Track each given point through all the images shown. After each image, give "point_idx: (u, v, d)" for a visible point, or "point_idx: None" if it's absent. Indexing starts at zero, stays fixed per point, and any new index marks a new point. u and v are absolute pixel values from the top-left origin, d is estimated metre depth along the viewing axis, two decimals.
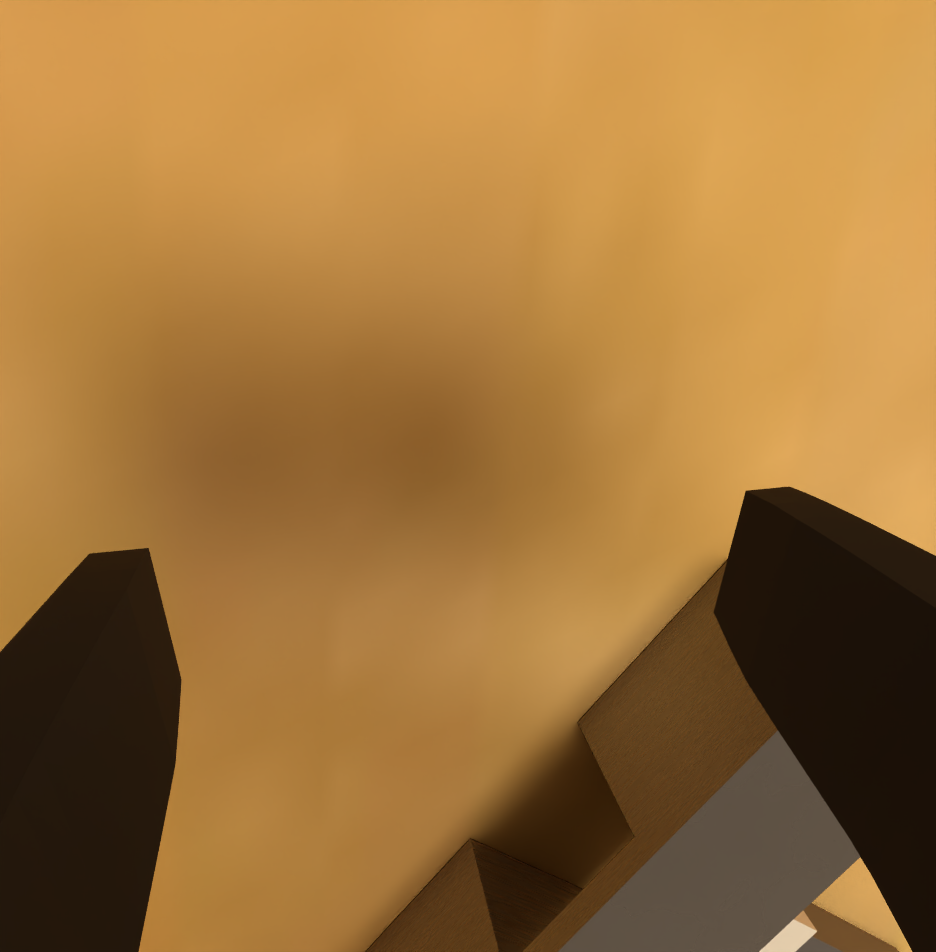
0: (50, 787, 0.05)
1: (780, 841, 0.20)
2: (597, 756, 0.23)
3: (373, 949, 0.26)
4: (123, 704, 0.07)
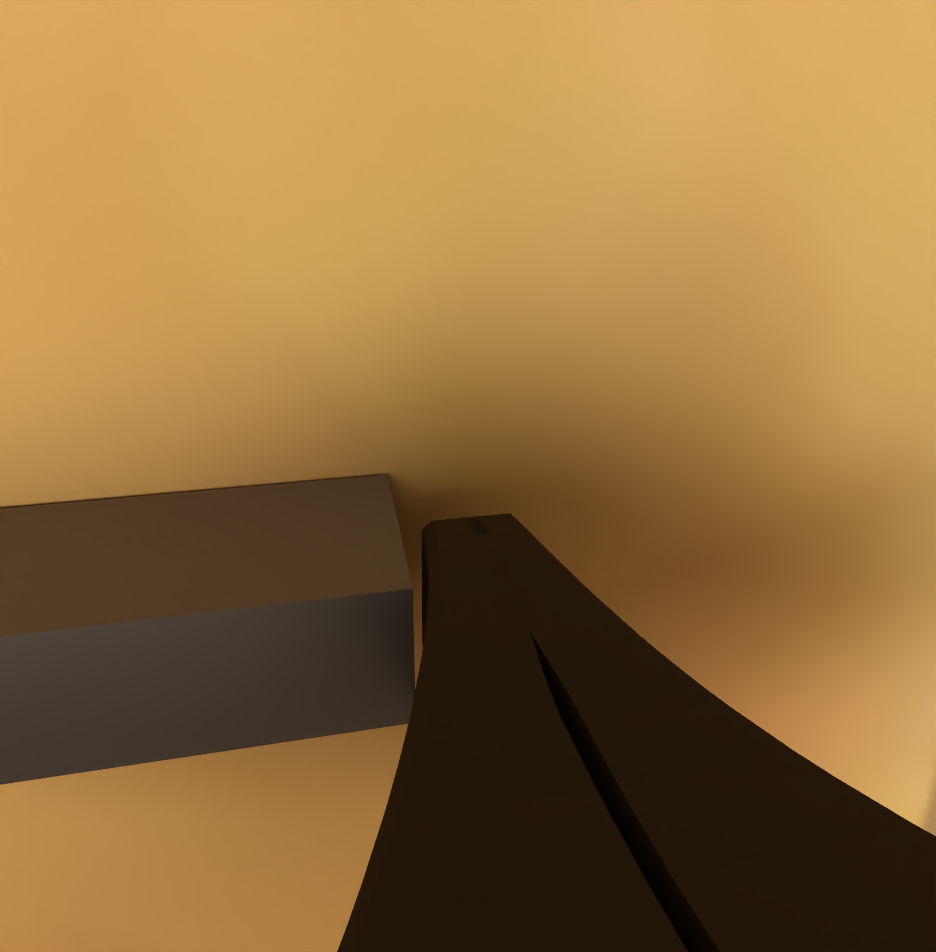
0: None
1: None
2: None
3: None
4: None
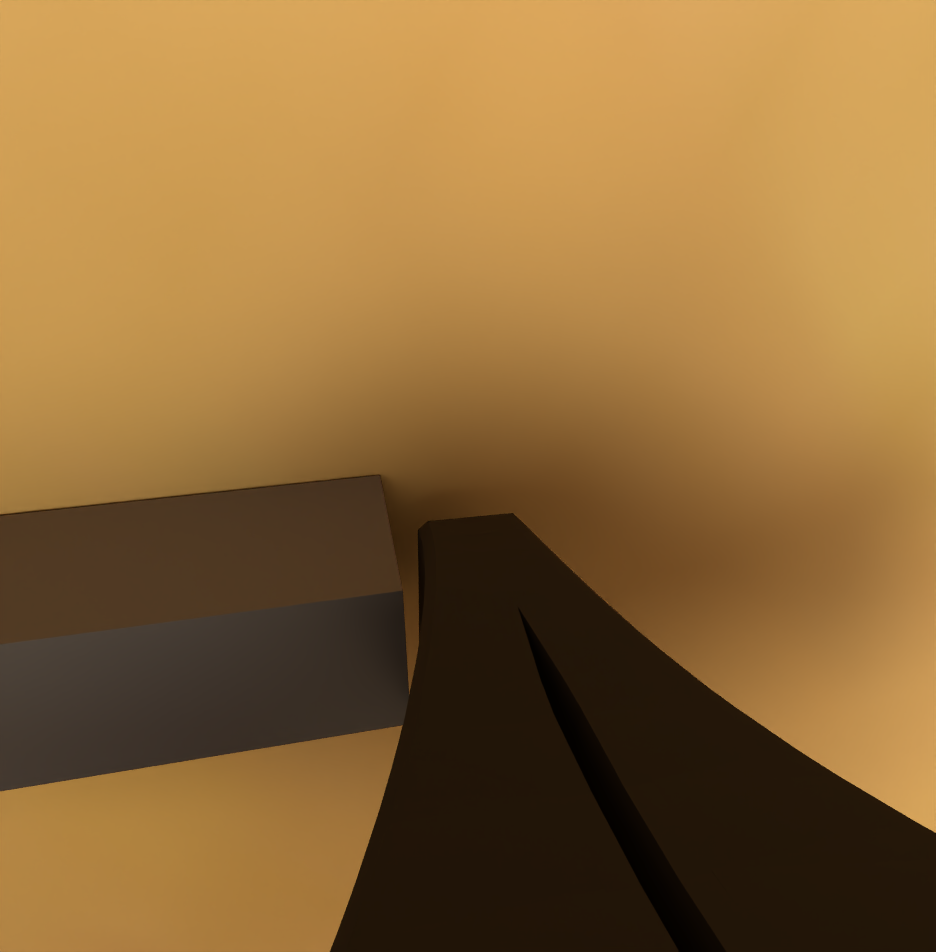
0: None
1: None
2: None
3: None
4: None
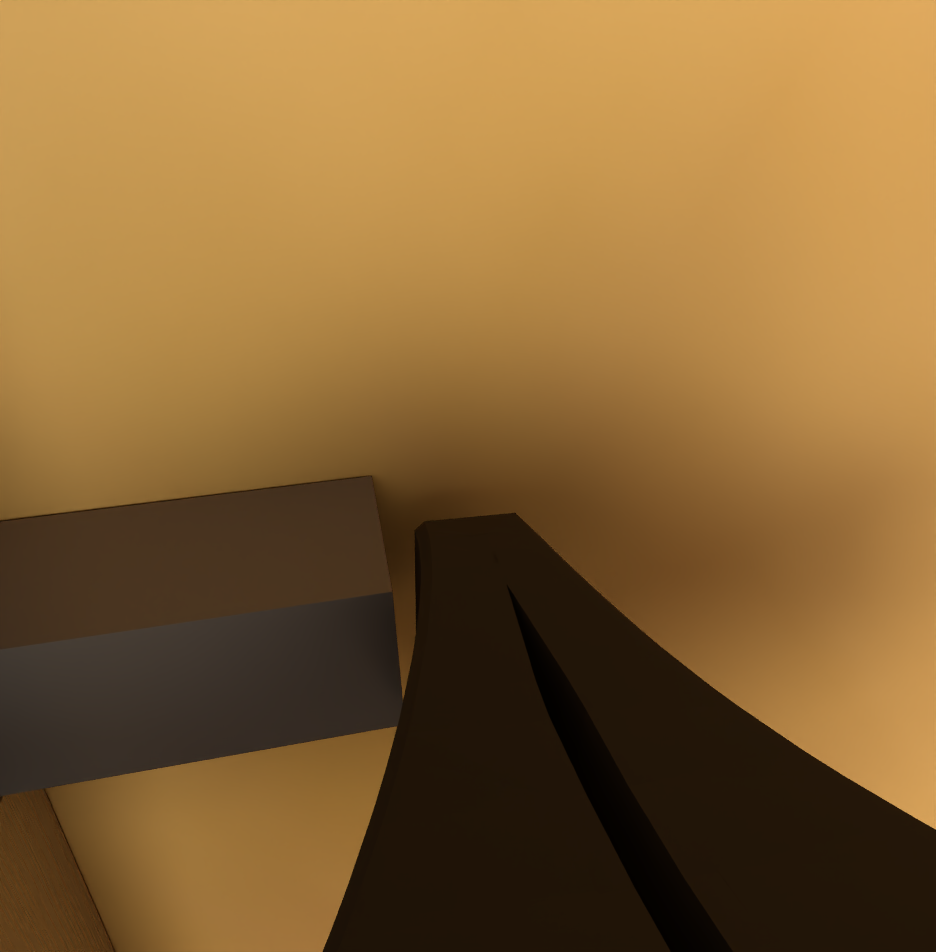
0: None
1: None
2: None
3: None
4: None
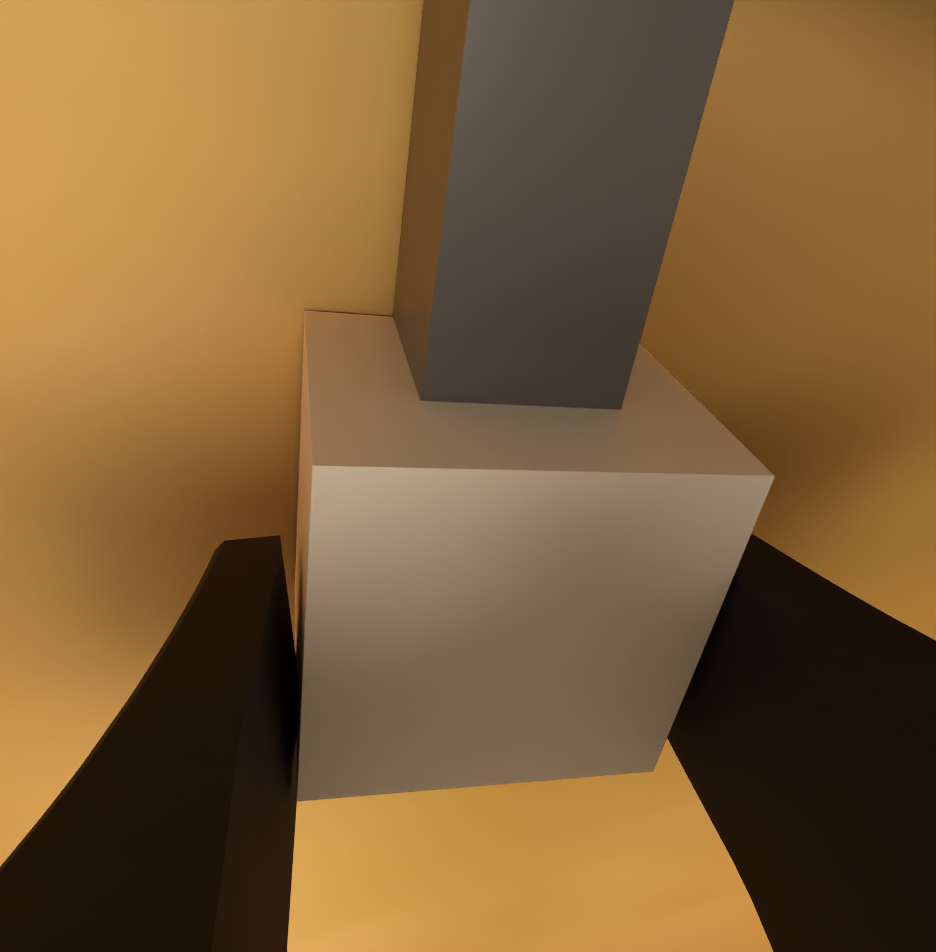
0: (249, 758, 0.06)
1: None
2: None
3: None
4: (277, 684, 0.07)
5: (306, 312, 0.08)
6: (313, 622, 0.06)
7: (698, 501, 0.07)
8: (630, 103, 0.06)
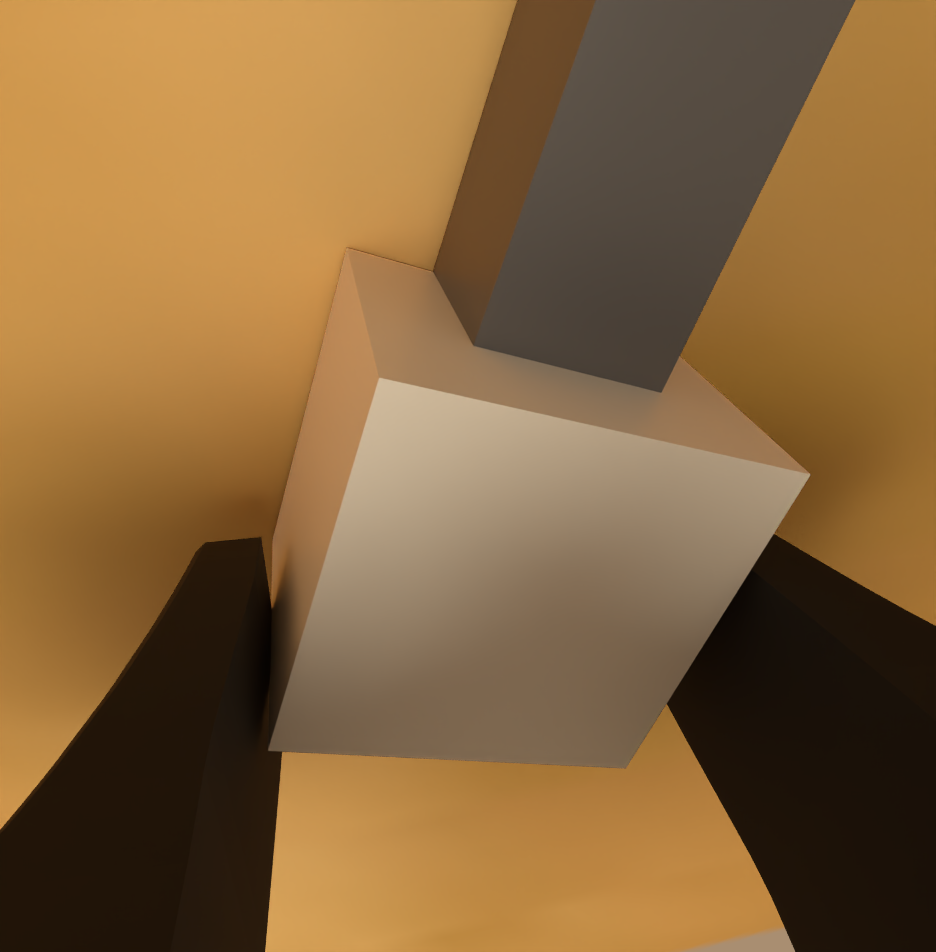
0: (221, 762, 0.06)
1: None
2: None
3: None
4: (255, 687, 0.07)
5: (349, 249, 0.08)
6: (335, 551, 0.06)
7: (735, 487, 0.07)
8: (740, 81, 0.06)
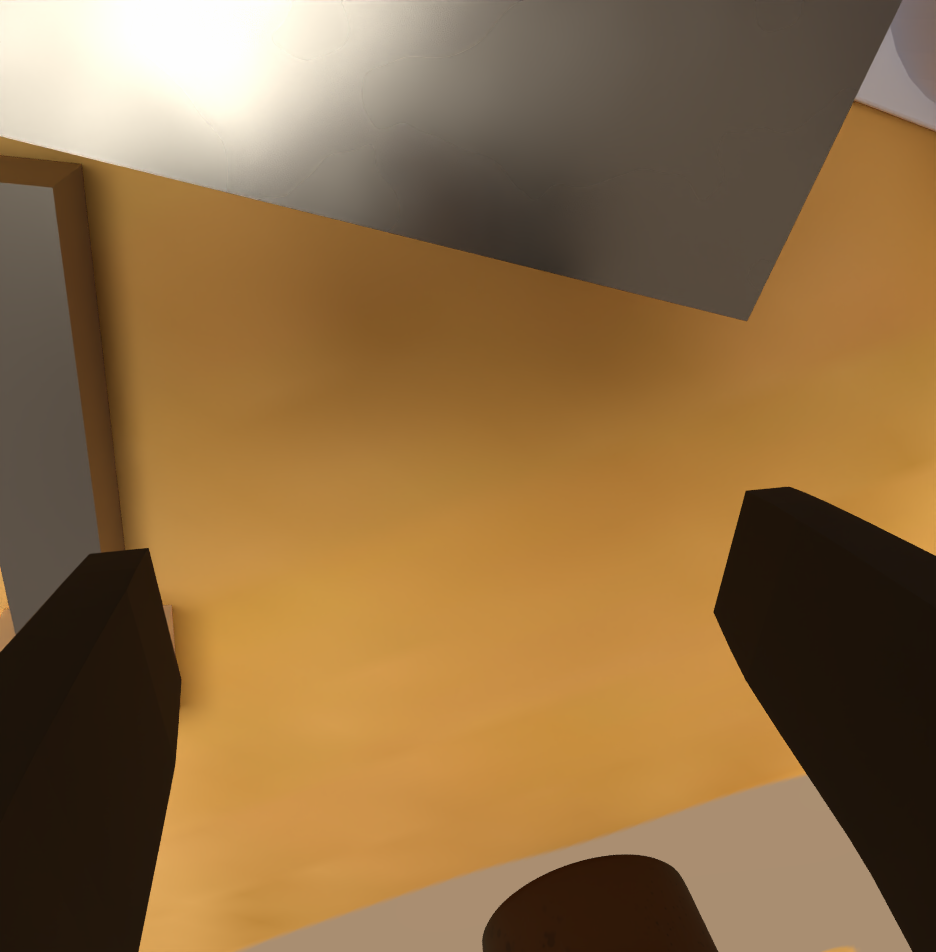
0: (50, 787, 0.05)
1: None
2: None
3: None
4: (123, 704, 0.07)
5: (4, 610, 0.19)
6: None
7: None
8: None
